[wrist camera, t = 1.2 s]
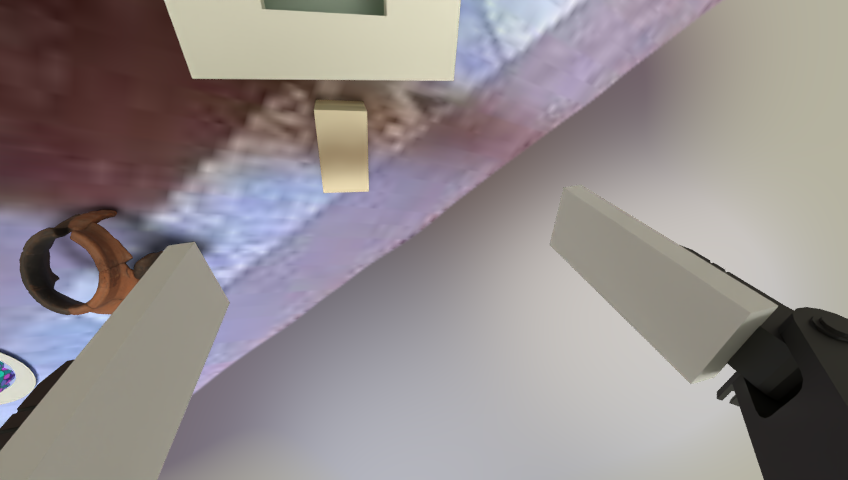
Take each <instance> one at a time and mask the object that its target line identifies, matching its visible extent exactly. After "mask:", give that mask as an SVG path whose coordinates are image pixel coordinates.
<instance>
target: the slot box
mask: <svg viewBox="0 0 848 480" xmlns="http://www.w3.org/2000/svg"><path fill="white" fill-rule="evenodd" d="M164 1H165V4H166V7H167V10H168V12H169V15H170V18H171V21H172V23H173V26H174V29H175V32H176V35H177V37H178V40H179V43H180V46H181V48H182V51H183V54H184V57H185V59H186V62H187V65H188V68H189V71H190V73H191V76H192V79H295V80H415V81H454V71H455V59H456V48H457V37H458V25H459V14H460V2H461V0H164Z"/></svg>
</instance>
